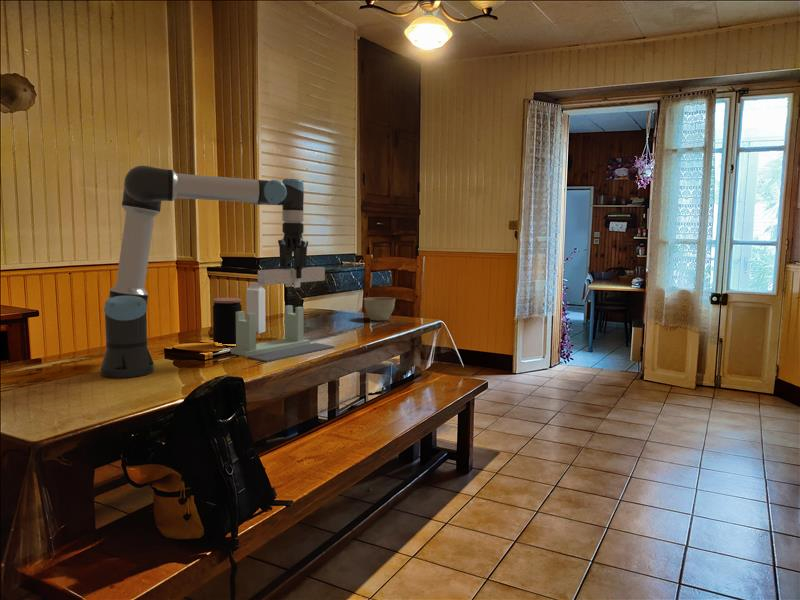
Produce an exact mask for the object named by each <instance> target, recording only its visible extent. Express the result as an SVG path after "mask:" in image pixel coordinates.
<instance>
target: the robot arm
mask: <svg viewBox="0 0 800 600" xmlns="http://www.w3.org/2000/svg"><path fill="white" fill-rule="evenodd" d="M304 196H305V191H304V182H303V180H302V179H299V178H283V179H282V181H280V180H276V179H271V180H264V179H253V178H243V177H241V178H239V177H229V176H228V177H227V176H226V177H224V176H215V175H214V176H213V175H200V174H188V173H187V174H186V173H177V172H176V171H175V170H174V169H165V168H159V167H153V166H150V165H137V166H134V167H132V168H131V169H130V170H129V171H128V172H127V173H126V175H125V177H124V181H123V193H122V201H121V207H122V208H123V210H124V211H125V218H124V222H123V223H124V225H123V231H122V238H121V245H120V253H119V261H118V267H117V275H116V282H115V285H114V286H112V287H111V288H110V290H109V295H108V296H109V297H108V298H107V299H106V300H105V302H104V306H103V307H104V308H103V312H104V319H105V320H104V322H105V323H104V324H105V345H106V346H105V347H106V348H105V349H106V350H105V352H104V355H103V360H102V363H101V366H100V375H101V377H102V376H103V377H105V378H112V379H113V378H114V379H116V378H117V379H123V378H125V379H126V378H136V377H141V376H142V377H143V376H146V375H149V374H152V373H153V372H154V371H155V364H154V360H153V358H152V355H151V354H150V350H149V348H148V347H149V346H148V325H147V322H148V319H147V309H148V300H149V292H148V291H147V290H146V288H145V285H146V278H147V273H148V264H149V256H150V252H151V251H150V250H151V243H152V236H153V229H154V222H155V217H156V216H157V215H159V214H161V207H162V202H167V201H168V202H173V201H175V200H177V199H185V200H187V199H188V200H202V201H203V200H204V201H221V202H222V201H223V202H238V203H239V202H241V203H249V204H252V205H256V206H257V205H258V206H263V205H264V206H281V207H282V213H281V214H282V215H281V216H282V220H281V221H282V222H283V223H282V224H281V225H282V227H281V228H282V229H281V231H282V233H283V238H281V239H278V240H277V244H278V247H279V266H280V267H281V268H283V269H290V268H293V267H292V266H291V265H292V259H293V260H294V262H293V263H294V283H287V284H285V286H284V287H285V288H288V287H291V288H292V287H293V289H294V288H296V289H298V288H301V282H300V278H301V270H302V269H303V268H307V253H308V245H309V241H308V240H304V238H303V234H304V232H305V231H304V223H303V222H304V203H305V201H304V200H305V199H304Z"/></svg>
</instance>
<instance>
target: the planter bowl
mask: <svg viewBox="0 0 800 600" xmlns="http://www.w3.org/2000/svg"><path fill="white" fill-rule="evenodd" d="M363 302H364V310H365V312H366V314H367V315H368V317H369V319H370V320H371V321H381V322H382V321H388V320H389V319H390V316H392V313H393V312H394V309H395V305H396V304H395V303H396V298H394V297H385V296H383V297H382V296H379V297H376V296H374V297H364V298H363Z"/></svg>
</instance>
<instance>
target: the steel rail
mask: <svg viewBox="0 0 800 600" xmlns="http://www.w3.org/2000/svg"><path fill="white" fill-rule="evenodd" d="M294 268H295V267H294ZM294 268H293V267H292V268H290V269H284V268H276V269H275V268H274V269H258V270H257V282H258V285H262V286H272V285H274V286H275V285H284V284H287V283H292V284H294ZM325 277H326V267H321V266H315V267H313V266H312V267H306V268H303V269H302V270H301V278H300V283H310V282H311V283H313V282H323V281H326V278H325Z"/></svg>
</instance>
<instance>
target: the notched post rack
mask: <svg viewBox="0 0 800 600" xmlns="http://www.w3.org/2000/svg"><path fill="white" fill-rule="evenodd" d="M294 310H295V312H294ZM304 310H305V309H304V306H297V307H296V306H295V309H294V305H291V304H290V305H289V304H288V305H284V338H280V339H276V340H269V341H263V342H258V343H257V334H256V313H247V312H246V311H244V310H242V311H239V312H236V348H235V347H231V348H232V349H230V348H229V349H230V351H231V353H230V354H231V355H237V356H240V357H241V356H242V357H246V358H248V356H252V355H257V354H262V353H267V352H272V351H277V350H282V349H287V348H292V347H297V346H302V345H307V344H311V340H310V339H304V336H305V335H304V331H305V330H304V327H305V325H304V323H305V322H304V319H305V318H304V316H305V315H304V314H305V311H304Z"/></svg>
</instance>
